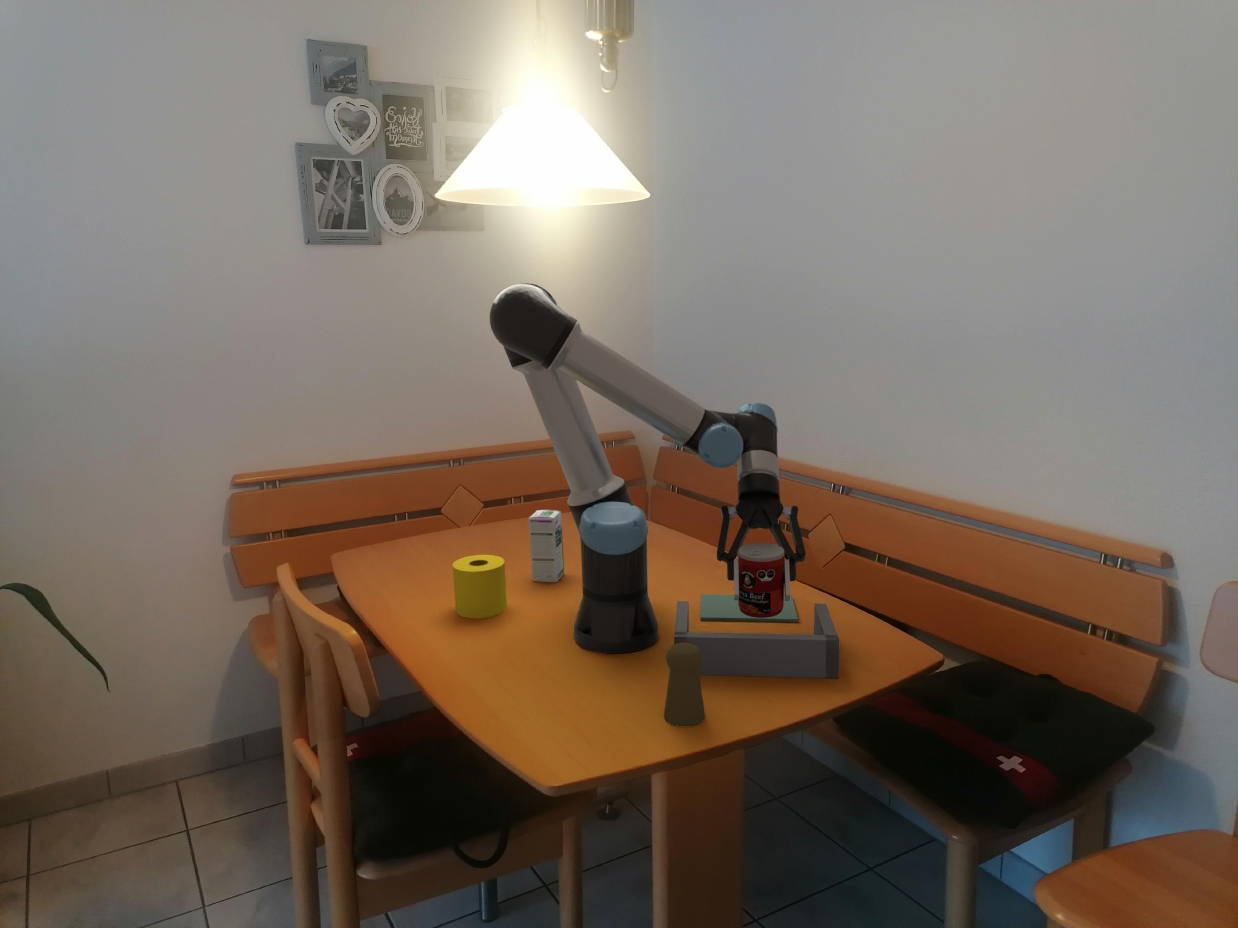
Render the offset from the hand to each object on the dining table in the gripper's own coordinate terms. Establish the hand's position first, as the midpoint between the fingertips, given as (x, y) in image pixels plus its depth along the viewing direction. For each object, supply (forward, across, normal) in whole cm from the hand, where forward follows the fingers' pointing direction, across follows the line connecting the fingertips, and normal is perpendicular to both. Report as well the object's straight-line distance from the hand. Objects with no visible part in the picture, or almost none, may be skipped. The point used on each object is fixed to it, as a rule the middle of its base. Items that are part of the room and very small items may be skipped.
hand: (762, 597), depth 145 cm
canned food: (0, 0, -5) cm, 5 cm away
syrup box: (-16, +44, -31) cm, 56 cm away
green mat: (-5, +2, -20) cm, 20 cm away
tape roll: (-4, +54, -18) cm, 57 cm away
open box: (+8, +2, -5) cm, 10 cm away
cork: (+23, +12, +11) cm, 29 cm away
